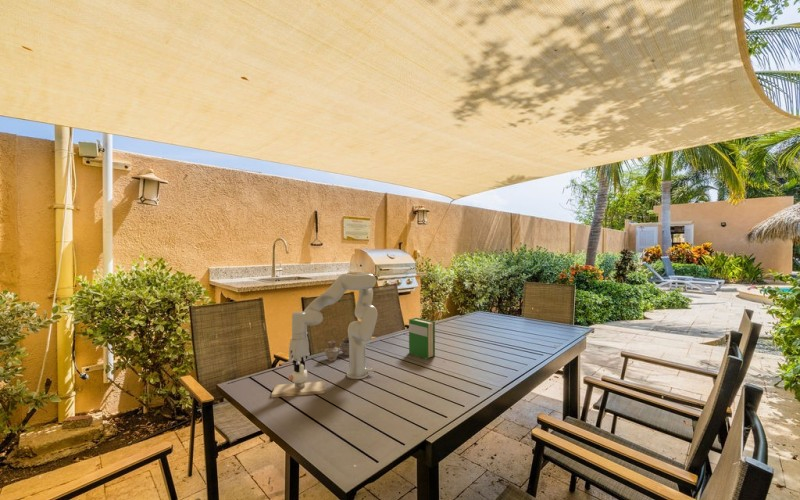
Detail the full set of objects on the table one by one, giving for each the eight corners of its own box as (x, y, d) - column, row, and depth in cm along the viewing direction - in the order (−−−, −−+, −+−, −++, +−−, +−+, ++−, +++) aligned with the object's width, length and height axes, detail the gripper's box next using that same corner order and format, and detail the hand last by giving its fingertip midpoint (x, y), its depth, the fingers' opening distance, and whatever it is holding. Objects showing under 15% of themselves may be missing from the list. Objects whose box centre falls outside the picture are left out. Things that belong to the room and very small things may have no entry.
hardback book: (434, 356, 231) (434, 321, 231) (427, 359, 227) (427, 323, 226) (416, 350, 245) (416, 317, 244) (409, 353, 240) (409, 319, 239)
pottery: (320, 360, 225) (320, 342, 225) (347, 350, 246) (347, 334, 246) (332, 363, 219) (332, 345, 219) (359, 353, 239) (359, 336, 239)
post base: (325, 383, 187) (325, 374, 186) (324, 393, 175) (324, 383, 175) (275, 387, 182) (275, 378, 182) (271, 397, 170) (271, 387, 170)
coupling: (303, 376, 184) (303, 360, 184) (309, 381, 177) (309, 364, 177) (286, 380, 178) (286, 363, 178) (292, 385, 172) (292, 368, 172)
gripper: (307, 331, 187) (307, 364, 187) (281, 337, 173) (281, 373, 173) (316, 333, 182) (316, 367, 183) (291, 340, 169) (291, 377, 169)
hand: (299, 370), depth 178 cm, fingers closed on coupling, 3 cm apart
